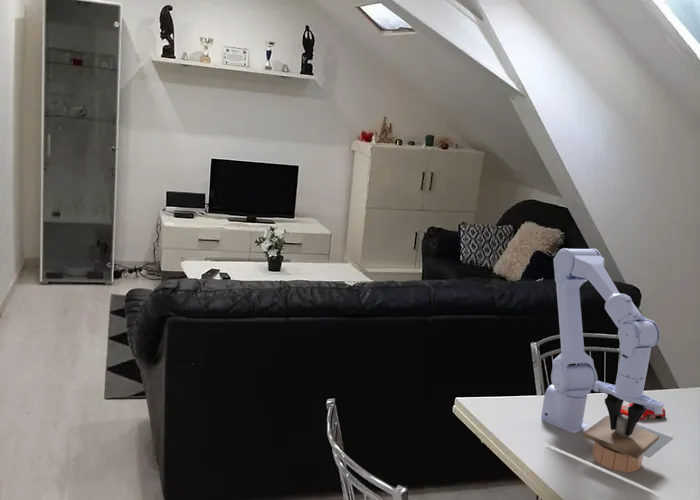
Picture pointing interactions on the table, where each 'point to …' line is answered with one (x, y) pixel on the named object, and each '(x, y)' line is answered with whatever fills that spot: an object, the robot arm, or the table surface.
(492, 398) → the table surface
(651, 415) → the race car
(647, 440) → the cover board
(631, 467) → the bowl
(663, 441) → the mat
